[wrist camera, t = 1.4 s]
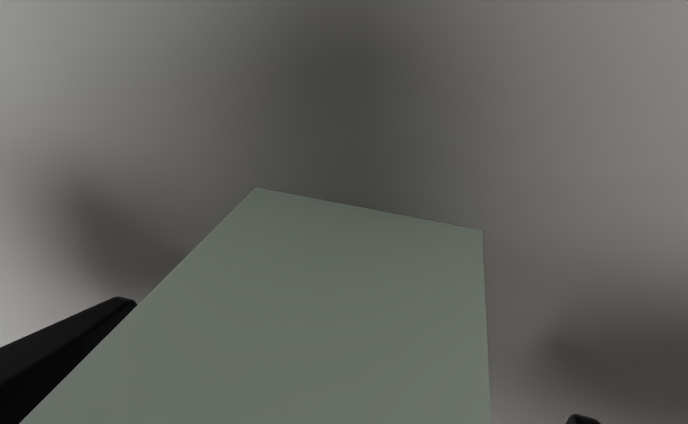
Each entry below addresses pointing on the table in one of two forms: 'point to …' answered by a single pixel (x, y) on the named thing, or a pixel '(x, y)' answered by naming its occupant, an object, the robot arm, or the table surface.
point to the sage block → (298, 326)
